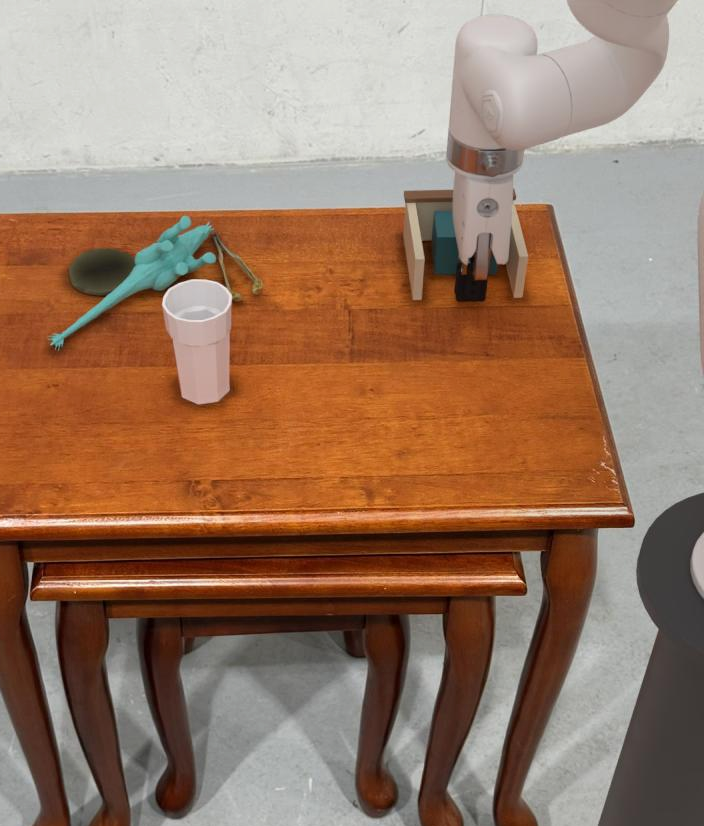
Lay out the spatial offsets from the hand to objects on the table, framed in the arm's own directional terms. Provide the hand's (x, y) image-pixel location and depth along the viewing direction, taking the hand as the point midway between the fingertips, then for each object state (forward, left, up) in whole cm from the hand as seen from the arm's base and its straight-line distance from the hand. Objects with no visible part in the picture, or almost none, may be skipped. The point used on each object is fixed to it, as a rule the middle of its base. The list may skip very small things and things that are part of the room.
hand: (469, 297), depth 138 cm
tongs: (+24, +12, -1) cm, 27 cm away
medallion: (+34, +22, 0) cm, 40 cm away
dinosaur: (+24, +22, +4) cm, 33 cm away
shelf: (+5, -5, -1) cm, 7 cm away
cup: (+12, +28, -1) cm, 31 cm away
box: (+5, -6, -1) cm, 8 cm away
